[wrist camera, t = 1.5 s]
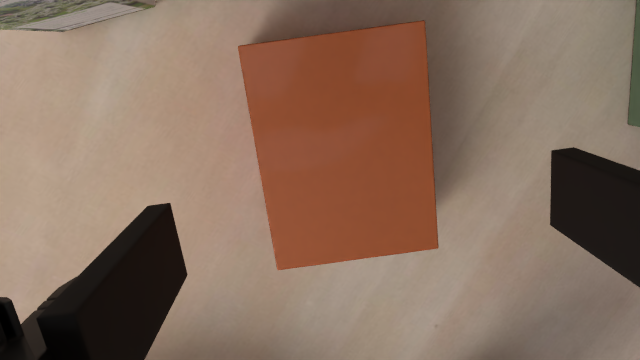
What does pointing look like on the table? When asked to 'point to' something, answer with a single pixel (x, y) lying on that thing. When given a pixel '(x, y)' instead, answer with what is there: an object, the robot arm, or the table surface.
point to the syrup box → (63, 13)
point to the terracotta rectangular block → (344, 143)
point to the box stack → (635, 75)
